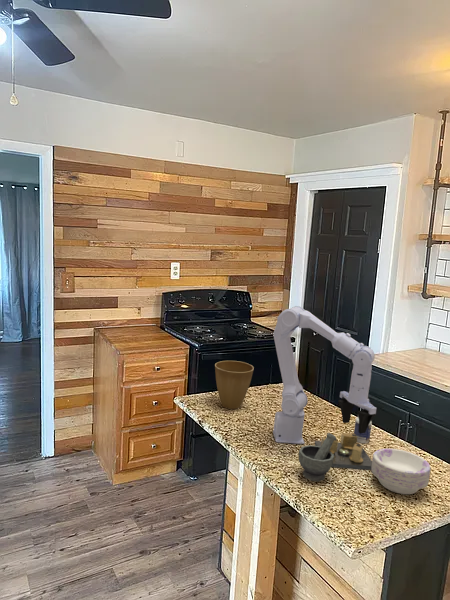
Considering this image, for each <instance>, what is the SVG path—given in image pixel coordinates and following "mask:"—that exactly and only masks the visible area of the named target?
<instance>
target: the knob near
mask: <svg viewBox="0 0 450 600" xmlns="http://www.w3.org/2000/svg"><path fill="white" fill-rule="evenodd" d="M359 444H360V443H357V444H355V445H354V447H353V451H352V455H351V456H350V458H349V459H350V460H351V461H352V462H355V463H362V462H363V458H362V450H363V449H364V445H362V444H360V445H359Z"/></svg>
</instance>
